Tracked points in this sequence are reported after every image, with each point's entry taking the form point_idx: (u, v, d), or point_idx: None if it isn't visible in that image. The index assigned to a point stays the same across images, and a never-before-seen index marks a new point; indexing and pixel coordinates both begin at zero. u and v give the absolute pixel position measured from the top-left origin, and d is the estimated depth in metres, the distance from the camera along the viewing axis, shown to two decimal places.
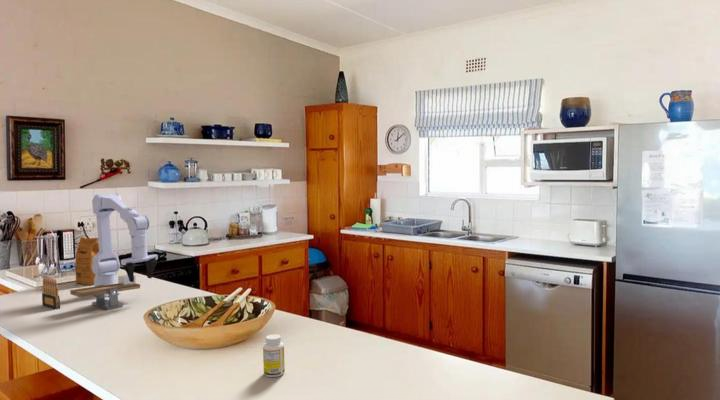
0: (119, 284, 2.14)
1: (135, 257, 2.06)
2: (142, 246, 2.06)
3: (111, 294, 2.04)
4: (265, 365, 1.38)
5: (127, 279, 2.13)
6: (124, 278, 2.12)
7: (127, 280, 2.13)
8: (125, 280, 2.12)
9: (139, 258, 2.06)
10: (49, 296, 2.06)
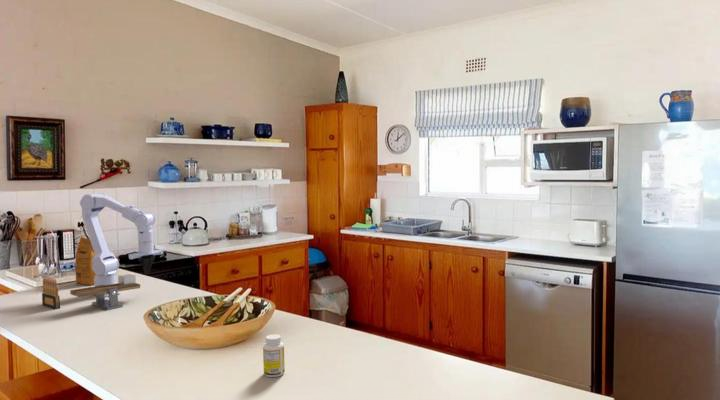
0: (119, 284, 2.14)
1: (142, 252, 2.18)
2: (151, 241, 2.20)
3: (111, 294, 2.04)
4: (265, 365, 1.38)
5: (127, 279, 2.13)
6: (125, 278, 2.12)
7: (127, 280, 2.13)
8: (126, 280, 2.13)
9: (146, 253, 2.18)
10: (49, 296, 2.06)
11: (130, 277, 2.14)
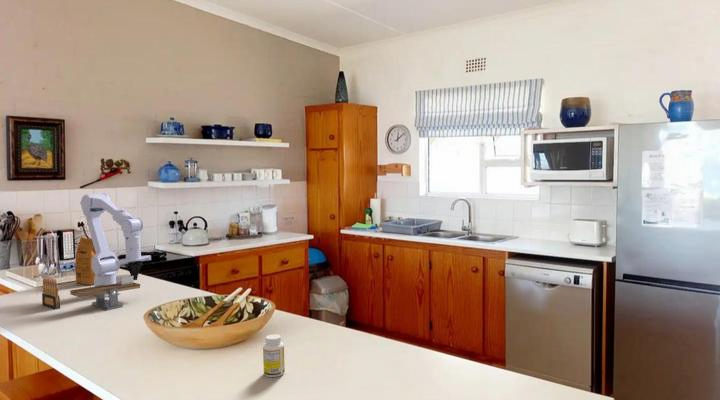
0: (117, 284, 2.13)
1: (129, 258, 2.14)
2: (137, 247, 2.15)
3: (111, 294, 2.04)
4: (265, 365, 1.38)
5: (125, 279, 2.13)
6: (122, 278, 2.12)
7: (125, 280, 2.13)
8: (123, 280, 2.12)
9: (133, 259, 2.14)
10: (49, 296, 2.06)
11: (128, 277, 2.14)
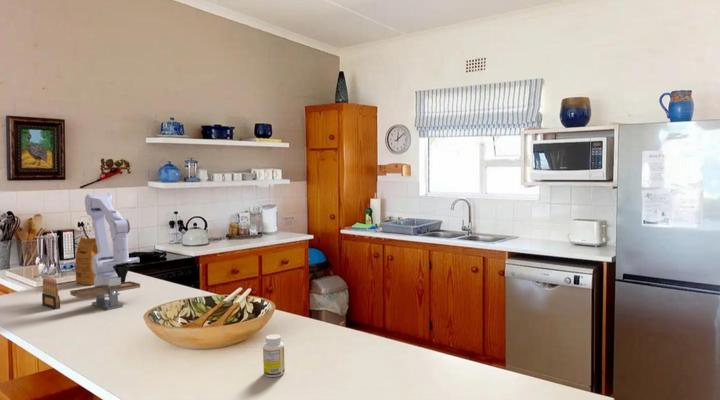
0: (104, 286, 2.09)
1: (116, 260, 2.10)
2: (122, 249, 2.10)
3: (111, 294, 2.04)
4: (265, 365, 1.38)
5: (112, 281, 2.08)
6: (109, 280, 2.07)
7: (112, 282, 2.08)
8: (110, 282, 2.08)
9: (120, 261, 2.10)
10: (49, 296, 2.06)
11: (115, 279, 2.09)
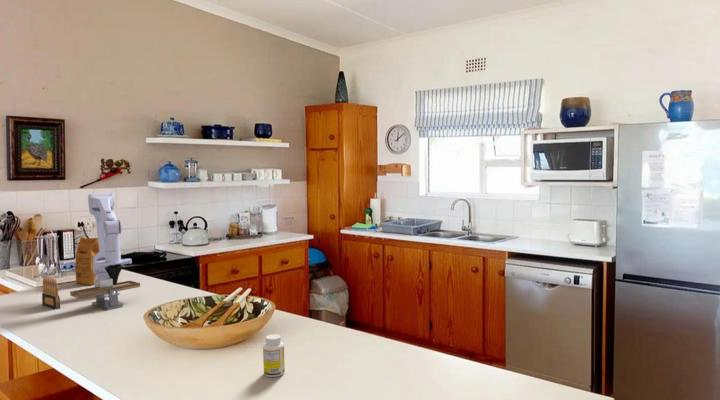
0: (96, 288, 2.07)
1: (108, 261, 2.07)
2: (113, 250, 2.07)
3: (111, 294, 2.04)
4: (265, 365, 1.38)
5: (104, 282, 2.06)
6: (100, 281, 2.05)
7: (104, 283, 2.06)
8: (102, 283, 2.05)
9: (112, 262, 2.07)
10: (49, 296, 2.06)
11: (107, 280, 2.07)
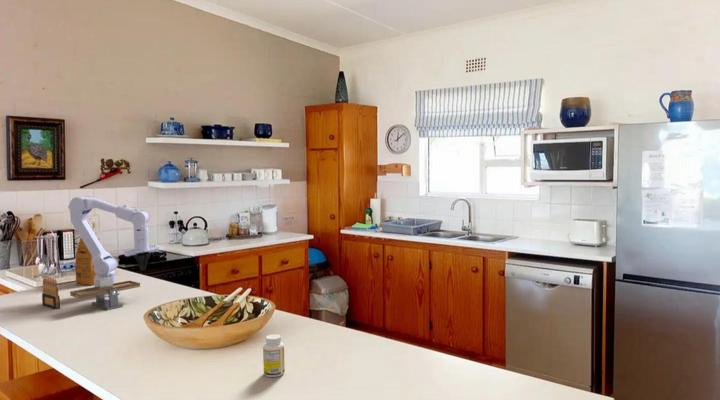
0: (96, 288, 2.07)
1: (137, 249, 2.23)
2: (147, 238, 2.25)
3: (111, 294, 2.04)
4: (265, 365, 1.38)
5: (104, 282, 2.06)
6: (100, 281, 2.05)
7: (104, 283, 2.06)
8: (102, 283, 2.05)
9: (141, 250, 2.23)
10: (49, 296, 2.06)
11: (107, 280, 2.07)
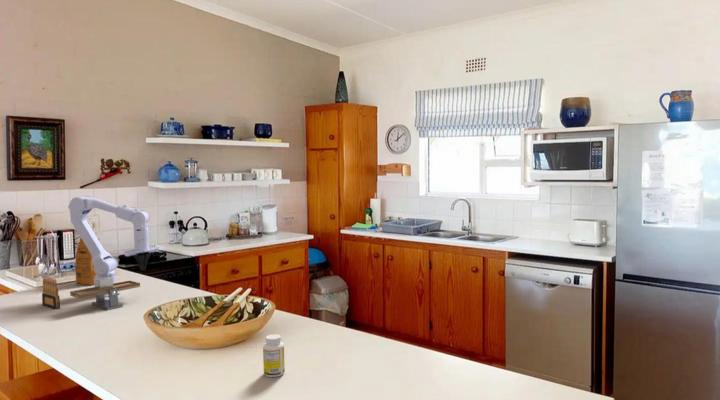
0: (96, 288, 2.07)
1: (137, 249, 2.23)
2: (147, 238, 2.25)
3: (111, 294, 2.04)
4: (265, 365, 1.38)
5: (104, 282, 2.06)
6: (100, 281, 2.05)
7: (104, 283, 2.06)
8: (102, 283, 2.05)
9: (141, 250, 2.23)
10: (49, 296, 2.06)
11: (107, 280, 2.07)
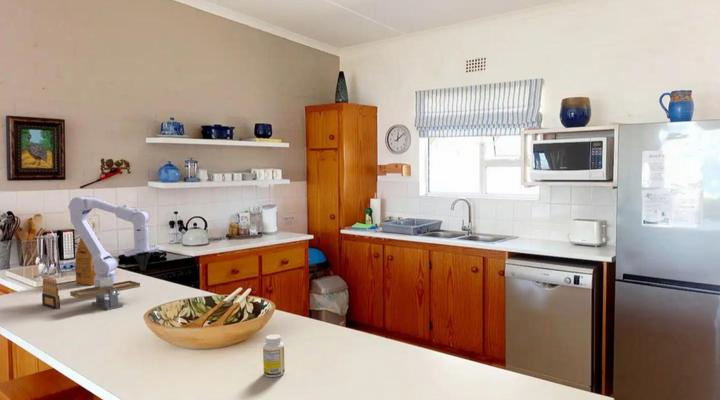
0: (96, 288, 2.07)
1: (137, 249, 2.23)
2: (147, 238, 2.25)
3: (111, 294, 2.04)
4: (265, 365, 1.38)
5: (104, 282, 2.06)
6: (100, 281, 2.05)
7: (104, 283, 2.06)
8: (102, 283, 2.05)
9: (141, 250, 2.23)
10: (49, 296, 2.06)
11: (107, 280, 2.07)
